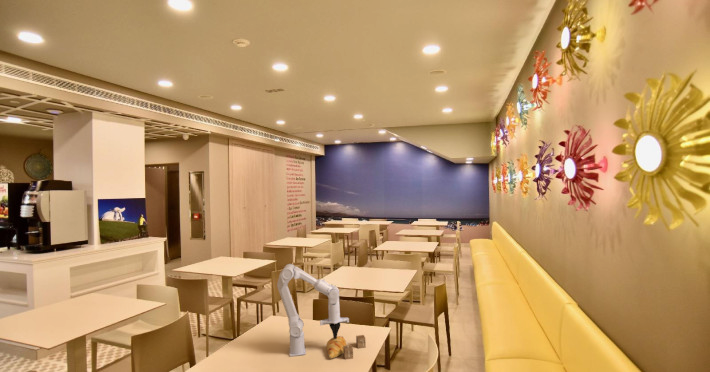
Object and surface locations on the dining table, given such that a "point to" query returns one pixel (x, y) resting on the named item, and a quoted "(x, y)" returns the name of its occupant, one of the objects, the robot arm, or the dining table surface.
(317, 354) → the dining table surface
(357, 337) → the number block seven
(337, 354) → the croissant
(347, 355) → the number block one
